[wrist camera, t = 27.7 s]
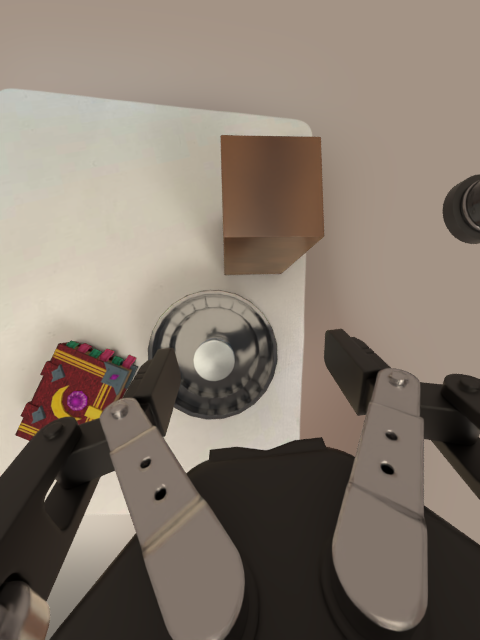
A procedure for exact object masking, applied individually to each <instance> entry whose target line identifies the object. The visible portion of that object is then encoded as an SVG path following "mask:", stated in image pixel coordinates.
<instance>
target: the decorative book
mask: <svg viewBox="0 0 480 640" xmlns="http://www.w3.org/2000/svg"><path fill="white" fill-rule="evenodd" d="M90 347H92V346H90V345H88V344H85V343H84V344H80V343H78V342H75V341H70V342H66V343H59V344H58V346H57V348H56V350H55V352H54V354H53V356H52V359H51V361H47V362H46V364H45V366H44V368H43V370H42V372H41V374H40V375H43V378H42V380H41V382H40V384H39V386H38V388H37V390H36V392H35V394H34V396H33V399H32V401H31V402H28V403H27V404H26V406H25V408H24V410H23V412H22V414H21V416H22V417H23V420H22V422H21V424H20V426H19V428H18V430H17V432H16V434H15V435H16V436H19V437H21V438H24V439H26V440H29V441H30V440H31V439H32V438H33V436H34V435H35V434H36V433H37V432H38V431H39V430H40V429H41V428H43V427H44V426H45V425H47V424H49V423H50V422H52V421H54V420H57V419H59V418H62V417H74V418H75V419H76V421H77V422H78V424H79V425H80V424H82V423H85V422H88V421H91V420H94V419H97V418H100V415H101V413H102V411H103V410H104V409H105V408H106V407H107V406H108V405H110V404H111V403H113V402H115V401H117V400H119V399H122V397H123V395H124V393H125V391H126V389H127V388H128V387H129V385H130V383H131V381H132V379H133V376H134V374H135V372H136V370H137V368H138V367H137V366H135V365H133V362H134V361H135V360H136V358H135V357H133V356H131V355H129V356H128V357H127V359H126V360H125V361H123V359H122V358H120V357H118V356H115V357H114V358H113V357H111V356H112V355H113V353H114V351H112V350H110V349H106V350H105V351H104V353H101V351H99V350H97V349H92V348H90Z"/></svg>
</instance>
